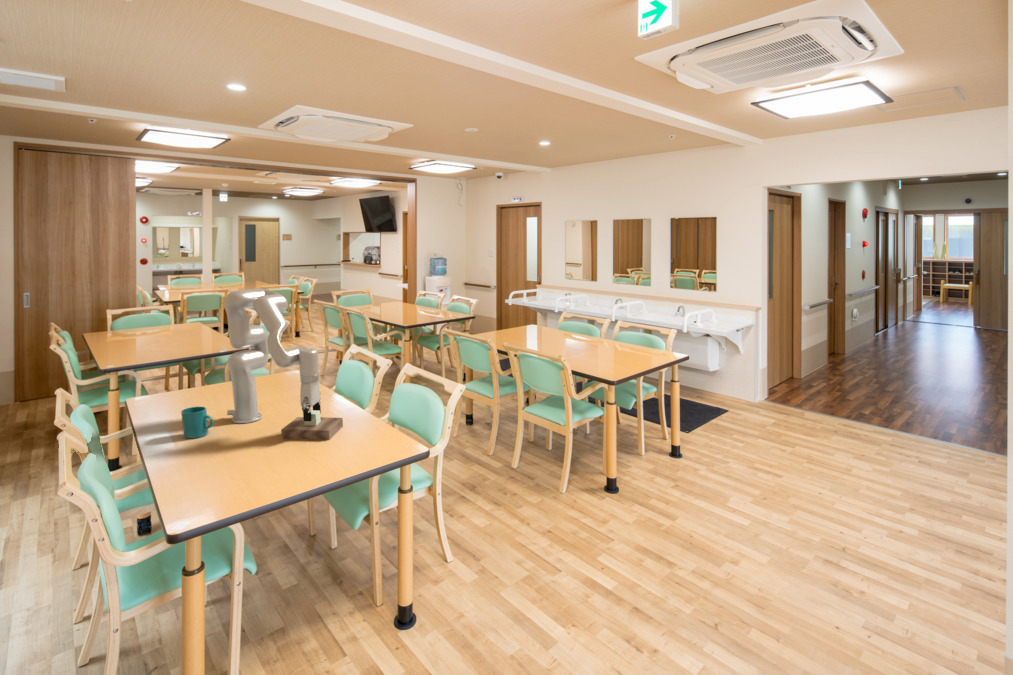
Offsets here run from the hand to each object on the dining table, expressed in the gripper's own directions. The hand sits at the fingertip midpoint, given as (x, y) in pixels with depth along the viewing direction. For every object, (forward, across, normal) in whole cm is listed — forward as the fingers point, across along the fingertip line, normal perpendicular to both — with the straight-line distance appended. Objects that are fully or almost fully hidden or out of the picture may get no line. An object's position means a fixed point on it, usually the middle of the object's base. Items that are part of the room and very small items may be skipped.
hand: (312, 417), depth 227 cm
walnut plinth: (+7, 0, 0) cm, 7 cm away
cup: (+7, +6, -46) cm, 47 cm away
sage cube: (+3, 0, 0) cm, 3 cm away
